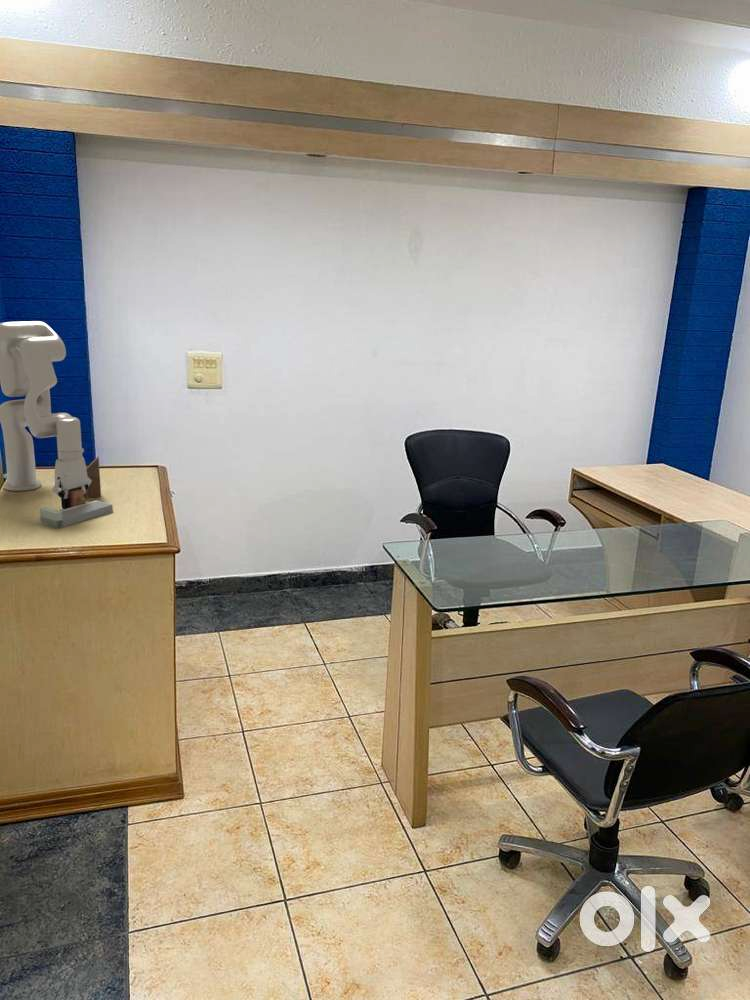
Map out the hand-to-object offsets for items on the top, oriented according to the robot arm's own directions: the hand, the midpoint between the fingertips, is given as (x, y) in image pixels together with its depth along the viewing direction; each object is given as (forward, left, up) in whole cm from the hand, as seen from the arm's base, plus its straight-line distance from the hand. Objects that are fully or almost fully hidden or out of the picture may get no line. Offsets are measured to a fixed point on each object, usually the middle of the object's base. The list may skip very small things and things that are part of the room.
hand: (73, 506), depth 266 cm
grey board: (+8, -5, -1) cm, 9 cm away
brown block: (+1, 0, -1) cm, 2 cm away
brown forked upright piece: (-9, +12, -1) cm, 15 cm away
